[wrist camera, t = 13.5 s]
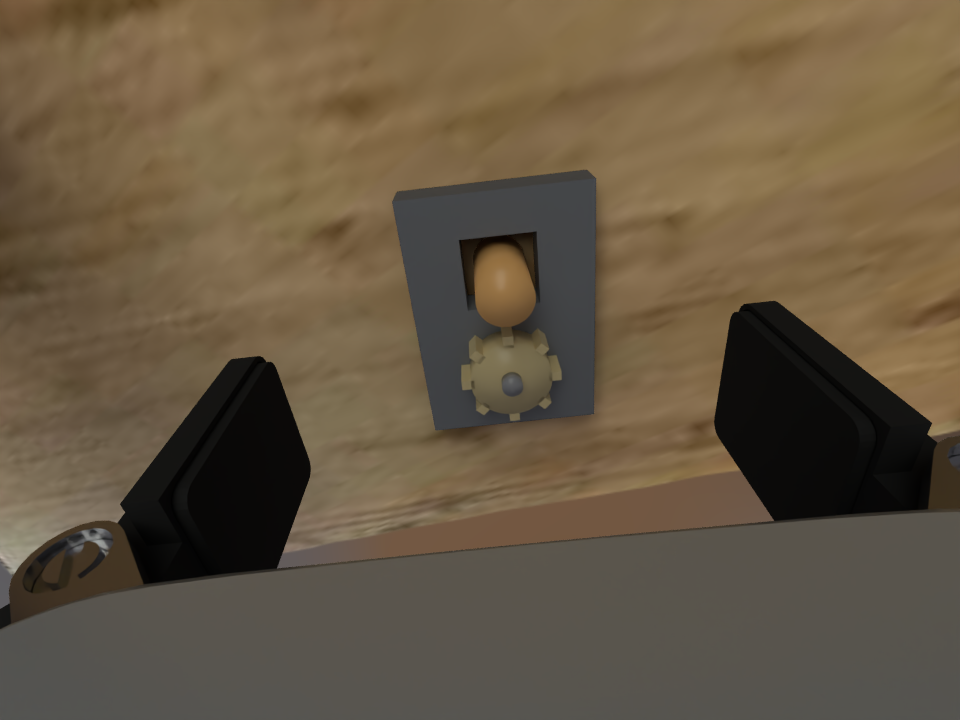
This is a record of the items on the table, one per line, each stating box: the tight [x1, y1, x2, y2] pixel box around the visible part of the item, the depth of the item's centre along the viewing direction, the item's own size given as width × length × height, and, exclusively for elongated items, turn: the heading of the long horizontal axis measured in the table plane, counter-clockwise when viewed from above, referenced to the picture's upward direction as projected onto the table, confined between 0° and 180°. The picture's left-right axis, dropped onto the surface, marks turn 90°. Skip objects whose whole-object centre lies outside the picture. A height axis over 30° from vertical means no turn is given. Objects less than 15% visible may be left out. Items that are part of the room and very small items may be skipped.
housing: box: [392, 170, 596, 430], centre depth 40 cm, size 20×14×6 cm
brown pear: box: [473, 235, 536, 327], centre depth 37 cm, size 4×4×8 cm
